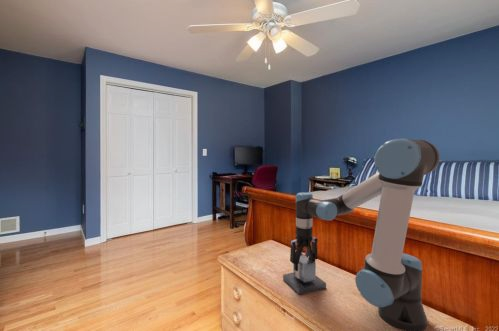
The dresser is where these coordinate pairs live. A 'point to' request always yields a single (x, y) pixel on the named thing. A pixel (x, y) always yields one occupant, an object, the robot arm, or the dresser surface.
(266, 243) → the dresser surface
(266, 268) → the dresser surface
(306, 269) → the block
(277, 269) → the dresser surface
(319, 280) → the steel plate
